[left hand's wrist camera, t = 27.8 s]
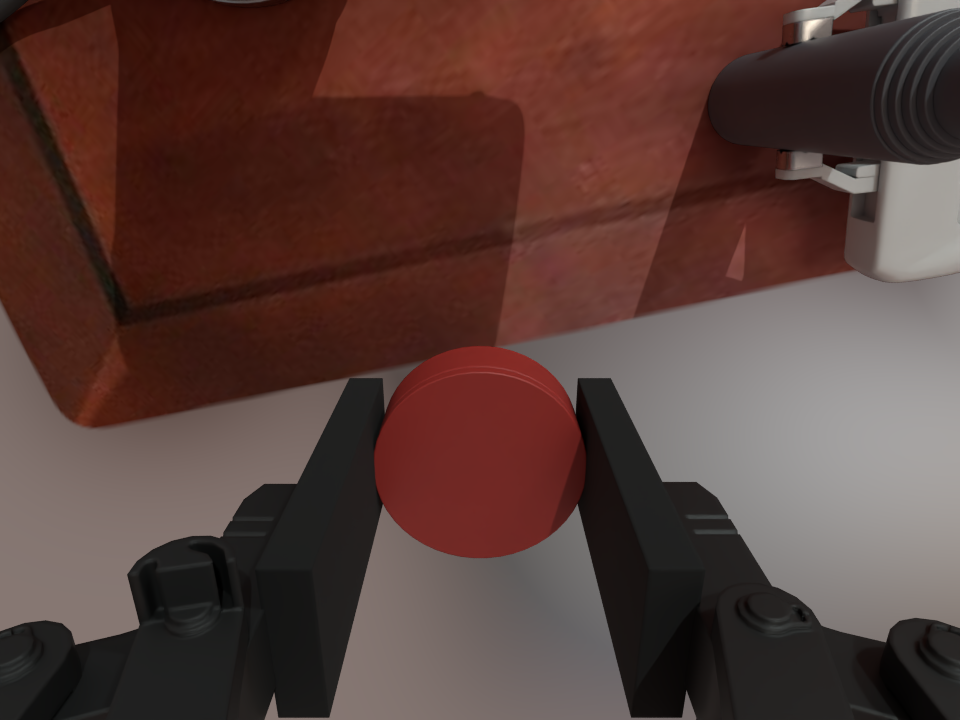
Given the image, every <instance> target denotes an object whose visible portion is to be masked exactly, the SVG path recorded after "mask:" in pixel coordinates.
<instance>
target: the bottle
mask: <svg viewBox="0 0 960 720" xmlns="http://www.w3.org/2000/svg"><path fill="white" fill-rule="evenodd" d="M708 111H709V117H710V120H711V123H712V125H713V127H714V129H715V130H716V131H717V133H718V134H719V135H720V136H721V137H722V138H724V139H725V140H727V141H729V142H732V143H735V144H740V145H748V146H757V147H766V148H775V149H784V150H793V151H801V152H810V153H819V154H828V155H837V156H845V157H854V158H863V159H872V160H881V161H890V162H898V163H907V164H916V165H932V164H939V163H945V162H950V161H954V160H958V159H960V8H953V9H947V10H943V11H938V12H934V13H930V14H925V15H921V16H916V17H912V18H907V19H903V20H899V21H894V22H890V23H885V24H881V25H876V26H872V27H868V28H863V29H859V30H854V31H850V32H845V33H841V34H837V35H832V36H828V37H823V38H819V39H814V40H810V41H806V42H802V43H798V44H793V45H789V46H784V47H779V48H775V49H770V50H766V51H761V52H757V53H753V54H748V55H745V56H742V57H740V58H737V59H736V60H734V61H732V62H731V63H730V64H728V65H727V66H726V67H725V68H724V69H723V70H722V71H721V72H720V74H719V75H718V77H717V78H716V80H715V82H714V84H713V86H712V88H711V91H710V95H709V101H708Z"/></svg>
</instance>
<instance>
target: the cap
mask: <svg viewBox="0 0 960 720" xmlns="http://www.w3.org/2000/svg"><path fill="white" fill-rule="evenodd" d="M374 466H375V480H376V488H377V491H378V493H379V496H380V499H381V501H382V503H383V504H384V506H385V508H386V510H387V511H388V513H389V514H390V515H391V517H392V518H393V519H394V521H395V522H396V523H397V524H398V525H399V526H400V527H401V528H402V529H403V530H404V531H405V532H407V533H408V534H409V535H410V536H412V537H413V538H415V539H416V540H418V541H419V542H421V543H423V544H424V545H427V546H429V547H431V548H433V549H435V550H438V551H441V552H444V553H447V554H451V555H455V556H460V557H469V558H492V557H501V556H505V555H510V554H514V553H516V552H519V551H523V550H525V549H528V548H530V547H532V546H534V545H536V544H538V543H539V542H541V541H543V540H544V539H546V538H547V537H549V536H550V535H551V534H552V533H554V532H555V531H556V530H557V529H558V528H559V527H560V526H561V525H562V524H563V523H564V522H565V521H566V520H567V519H568V517H569V516H570V515H571V513H572V512H573V511H574V509H575V507H576V505H577V503H578V502H579V500H580V497H581V495H582V492H583V489H584V485H585V472H586V448H585V444H584V439H583V436H582V434H581V430H580V427H579V424H578V421H577V418H576V414H575V411H574V408H573V406H572V403H571V401H570V398H569V397H568V395H567V393H566V391H565V390H564V388H563V387H562V385H561V384H560V383H559V382H558V380H557V379H556V378H555V377H554V376H553V375H552V374H551V373H550V372H549V371H548V370H547V369H545V368H544V367H543V366H541V365H540V364H539V363H537V362H536V361H534V360H532V359H530V358H528V357H526V356H524V355H522V354H519V353H517V352H514V351H511V350H507V349H503V348H498V347H489V346H471V347H463V348H458V349H454V350H450V351H446V352H444V353H441V354H439V355H436V356H434V357H432V358H430V359H428V360H427V361H425V362H423V363H422V364H420V365H419V366H418V367H416V368H415V369H414V370H413V371H411V372H410V373H409V374H408V375H407V376H406V377H405V378H404V380H403V381H402V382H401V383H400V385H399V386H398V387H397V389H396V390H395V392H394V394H393V396H392V397H391V400H390V402H389V404H388V407H387V410H386V413H385V416H384V419H383V422H382V425H381V428H380V431H379V435H378V438H377V441H376V445H375V450H374Z"/></svg>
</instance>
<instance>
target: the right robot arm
mask: <svg viewBox="0 0 960 720" xmlns="http://www.w3.org/2000/svg"><path fill="white" fill-rule="evenodd" d="M953 8H960V0H826V1H825V2H824V3H822V4H821V5H820V6H818V7H817V8H809V9H802V10H798V11H793V12H790V13H787V14H784V15H783V33H782V46H789V45H793V44H798V43H802V42H806V41H810V40H814V39H819V38H823V37H828V36H832V27H833V20H835V19H836V18H838V17H839V16H841V15H842V14H843V13H845V12H846V11H848V10H849V11H850V13H853V12H861V11H867V14H866V24H865V28H868V27H872V26H876V25H881V24H885V23H890V22H894V21H899V20H903V19H907V18H912V17H916V16H921V15H925V14H930V13H934V12H938V11H943V10H947V9H953ZM822 159H823V154H819V153H810V152H801V151H793V150H784V149H780V150H777V159H776V169H775V178H778V179H783V180H796V179H805V178H810V179H813V180H815V181H817V182H819V183H821V184H823V185H825V186H827V187H829V188H831V189H833V190H837V191H842V192H847V193H850V197H849V208H848V219H847V229H846V240H845V250H844V259H845V261H846V262H847V263H848V264H849V265H850V266H851V267H853V268H854V269H855V270H857V271H858V272H860V273H861V274H863V275H865V276H868V277H870V278H873V279H875V280H879V281H882V282H889V283H899V282H909V281H917V280H923V279H930V278H935V277H941V276H946V275H950V274H955V273H960V159H958V160H954V161H950V162H945V163H939V164H932V165H916V164H907V163H898V162H890V161H881V160H872V159H863V158H854V157H853V162H849V163H841V164H837V165H836V168H835V169H833V168H831V167H829V166H827V165H824V164H822Z"/></svg>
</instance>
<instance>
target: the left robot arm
mask: <svg viewBox="0 0 960 720" xmlns="http://www.w3.org/2000/svg"><path fill="white" fill-rule="evenodd" d="M27 1H28V0H0V23H1V22H2V21H4V20H5V19H6V18H8V17H9V16H10V15H11V14H13V13H14V12H15V11H16V10H17V9H19V8H20V7H21V6H22V5H23V4H24V3H26V2H27ZM210 1H213V2H216V3H220V4H224V5H228V6H235V7H265V6H271V5H276V4H280V3H283V2H286V1H289V0H210ZM384 416H385V411H384V394H383V379H382V378H350V379H349V381H348V383H347V385H346V387H345V389H344V391H343V393H342V395H341V397H340V399H339V401H338V403H337V405H336V407H335V409H334V411H333V413H332V415H331V417H330V419H329V421H328V423H327V425H326V427H325V429H324V431H323V433H322V435H321V437H320V439H319V441H318V443H317V445H316V447H315V449H314V451H313V453H312V455H311V457H310V459H309V461H308V463H307V465H306V467H305V469H304V471H303V473H302V475H301V477H300V479H299V481H298V483H297V484H264V485H262V486H261V487H260V488H258V489H257V490H256V491H254V492H253V493H252V494H250V495H249V496H248V497H247V498H245V499H244V500H243V502H242V503H241V505H240V507H239V508H238V510H237V511H236V513H235V515H234V516H233V521H230V523H229V524H228V526H227V528H226V529H225V531H224V533H223V537H220V538H216V537H213V536H191V537H187V538H183V539H178V540H174V541H171V542H168V543H166V544H164V545H162V546H160V547H157V548H155V549H153V550H151V551H150V552H149V553H147V554H146V555H145V556H143V557H142V558H141V559H139V560H138V561H137V562H136V563H135V565H134V566H133V567H132V569H131V570H130V572H129V573H128V574H127V576H128V580H129V584H130V588H131V591H132V595H133V600H134V603H135V607H136V611H137V615H138V619H139V623H140V626H139V628H138V629H136V630H133V631H130V632H126V633H123V634H120V635H116V636H111V637H107V638H103V639H99V640H94V641H90V642H86V643H81V644H77V645H75V643H74V640H73V636H72V633H71V631H70V630H69V629H68V628H66V627H65V626H64V625H63V624H62V623H57V622H51V621H46V620H45V621H37V622H29V623H24V624H20V625H17V626H14V627H12V628H9V629H6V630H3V631H0V720H264V719H265V716H266V714H267V711H268V708H269V705H270V702H271V699H272V697H273V694H274V693H275V699H276V705H277V711H278V717H279V718H329V716H330V712H331V708H332V704H333V700H334V696H335V692H336V688H337V684H338V680H339V677H340V672H341V669H342V664H343V661H344V657H345V652H346V649H347V644H348V640H349V637H350V633H351V629H352V624H353V621H354V617H355V612H356V609H357V605H358V601H359V596H360V593H361V589H362V585H363V581H364V577H365V573H366V569H367V565H368V561H369V557H370V553H371V549H372V545H373V541H374V537H375V533H376V529H377V525H378V521H379V517H380V513H381V509H382V505H383V503H382V501H381V499H380V496H379V493H378V491H377V488H376V480H375V466H374V450H375V445H376V441H377V438H378V435H379V431H380V428H381V425H382V422H383V419H384ZM576 418H577V421H578V424H579V427H580V430H581V434H582V436H583V439H584V444H585V448H586V472H585V485H584V489H583V492H582V495H581V497H580V500H579V502H578V507H579V511H580V515H581V519H582V523H583V527H584V531H585V535H586V539H587V543H588V547H589V551H590V555H591V559H592V563H593V567H594V571H595V575H596V579H597V583H598V587H599V591H600V595H601V599H602V603H603V607H604V611H605V615H606V619H607V623H608V627H609V631H610V635H611V639H612V643H613V647H614V651H615V655H616V659H617V663H618V667H619V671H620V675H621V679H622V683H623V687H624V691H625V695H626V699H627V703H628V707H629V711H630V715H631V717H632V718H681V717H682V714H683V708H684V702H685V695H686V690H687V692H688V695H689V698H690V701H691V704H692V706H693V709H694V712H695V715H696V720H960V628H957V627H954V626H951V625H948V624H945V623H943V622H939V621H936V620H928V619H920V618H913V619H908V620H902V621H899V622H898V623H897V624H895V625H894V626H893V627H892V628H891V629H890V631H889V635H888V638H887V641H886V642H881V641H877V640H872V639H868V638H864V637H860V636H855V635H851V634H847V633H843V632H839V631H836V630H833V629H829V628H826V627H823V626H821V625H820V623H819V621H818V620H817V618H816V616H815V615H814V613H813V612H812V610H811V609H810V608H809V607H807V606H806V605H805V604H804V603H803V602H801V601H800V600H799V599H798V598H797V597H795V596H793V595H791V594H789V593H787V592H785V591H783V590H781V589H779V588H776V587H773V586H771V584H770V582H769V581H768V579H767V577H766V576H765V574H764V573H763V571H762V569H761V568H760V566H759V565H758V563H757V562H756V560H755V558H754V557H753V555H752V553H751V552H750V550H749V548H748V547H747V545H746V544H745V542H744V540H743V539H742V537H741V536H740V535H739V534H738V533H737V529H736V528H735V526H734V524H733V523H732V521H731V520H730V519H728V515H727V513H726V511H725V510H724V508H723V507H722V505H721V503H720V502H719V500H718V499H717V497H715V496H714V495H713V494H711V493H710V492H709V491H707V490H706V489H705V488H704V487H702V486H701V485H700V484H698V483H697V482H662V480H661V478H660V476H659V475H658V472H657V470H656V469H655V466H654V464H653V462H652V460H651V458H650V456H649V454H648V452H647V450H646V448H645V446H644V444H643V442H642V440H641V438H640V436H639V434H638V432H637V430H636V428H635V426H634V424H633V422H632V420H631V418H630V416H629V414H628V412H627V410H626V408H625V406H624V404H623V402H622V400H621V398H620V396H619V394H618V392H617V390H616V388H615V386H614V384H613V382H612V380H611V378H578V385H577V401H576Z"/></svg>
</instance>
